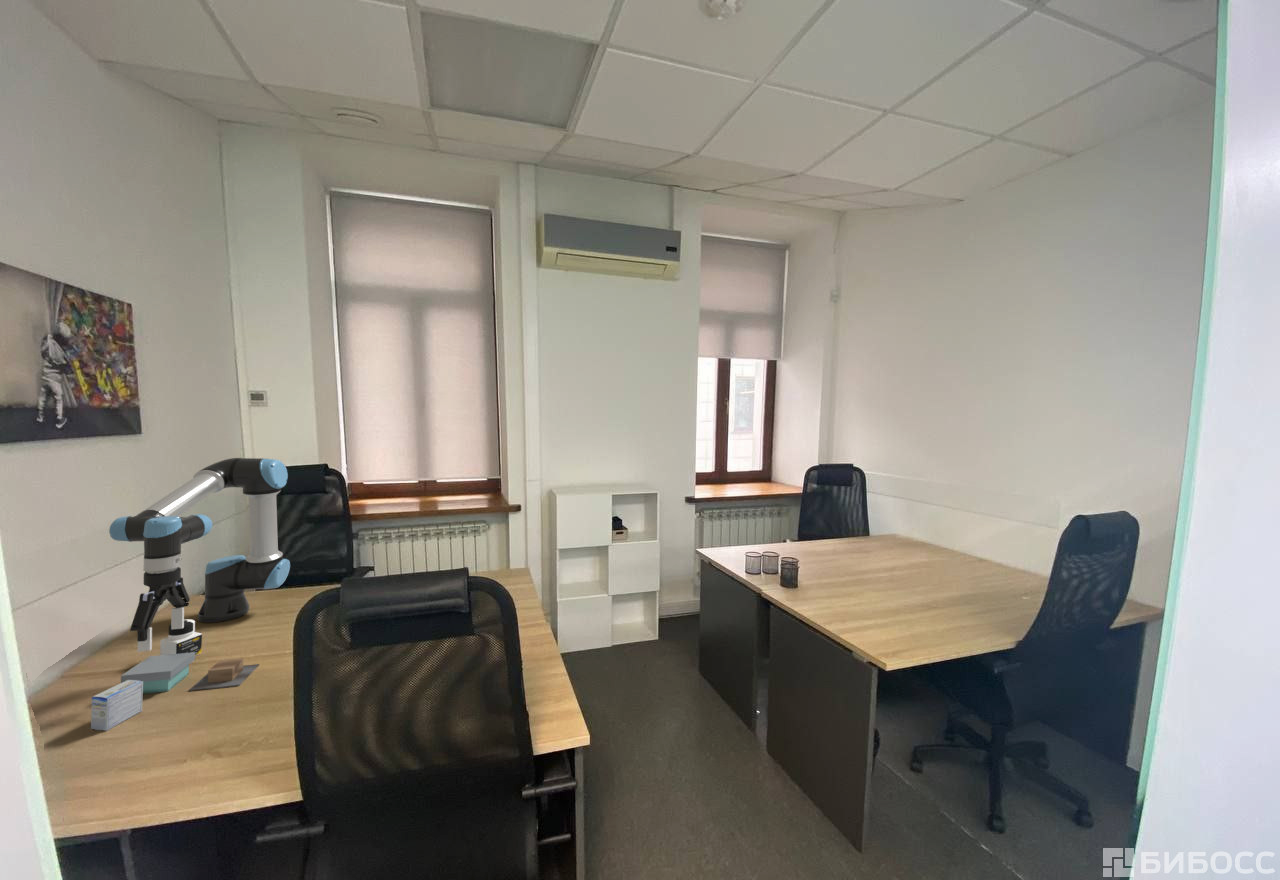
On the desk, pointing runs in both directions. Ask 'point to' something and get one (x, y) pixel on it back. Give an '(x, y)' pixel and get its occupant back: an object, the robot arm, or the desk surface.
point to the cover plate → (159, 667)
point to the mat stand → (225, 675)
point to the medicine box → (116, 705)
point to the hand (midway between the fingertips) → (161, 639)
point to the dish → (164, 682)
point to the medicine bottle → (182, 640)
